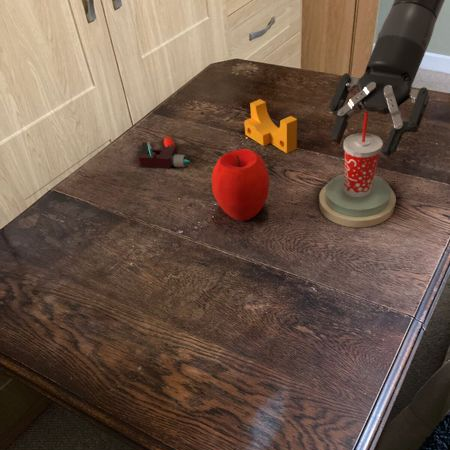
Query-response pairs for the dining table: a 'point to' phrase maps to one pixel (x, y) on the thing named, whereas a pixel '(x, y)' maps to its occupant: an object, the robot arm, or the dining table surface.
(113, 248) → the dining table surface
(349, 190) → the beverage cup
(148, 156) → the toy gun
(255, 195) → the apple
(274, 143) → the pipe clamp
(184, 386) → the dining table surface
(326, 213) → the round push button
